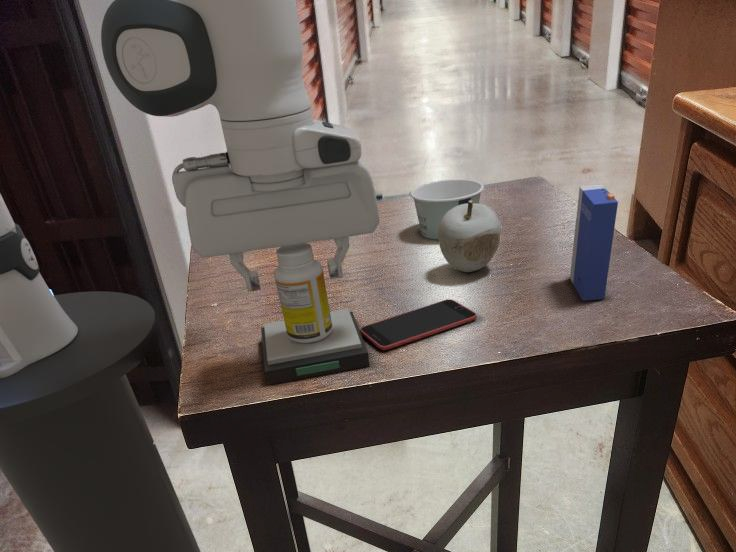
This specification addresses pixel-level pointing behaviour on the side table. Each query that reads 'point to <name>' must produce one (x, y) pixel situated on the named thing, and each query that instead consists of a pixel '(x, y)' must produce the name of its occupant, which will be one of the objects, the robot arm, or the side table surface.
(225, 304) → the side table surface
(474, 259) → the decorative object
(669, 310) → the side table surface
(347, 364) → the scale
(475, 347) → the side table surface
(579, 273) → the walkman
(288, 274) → the supplement bottle
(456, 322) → the smartphone
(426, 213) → the food container
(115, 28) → the robot arm
